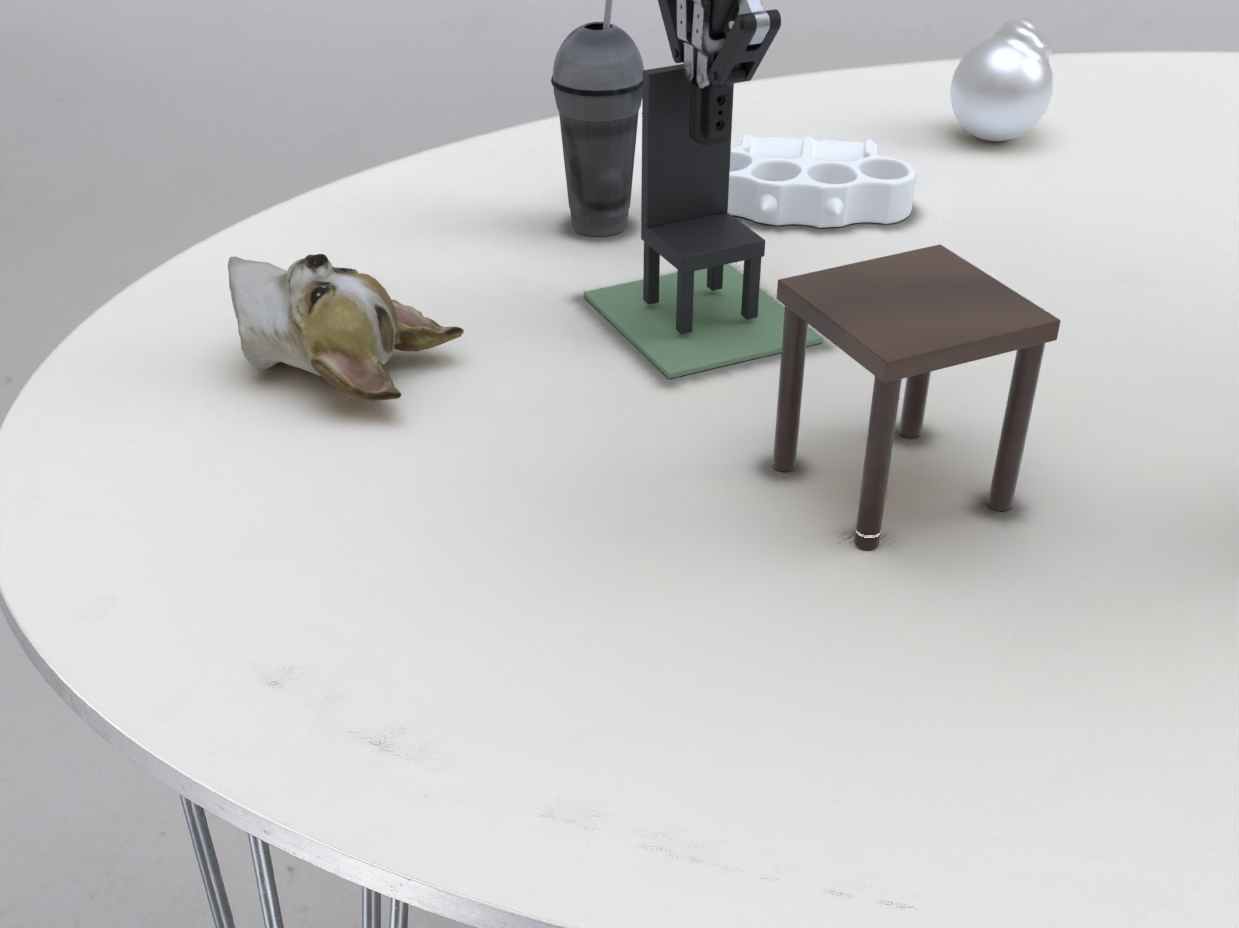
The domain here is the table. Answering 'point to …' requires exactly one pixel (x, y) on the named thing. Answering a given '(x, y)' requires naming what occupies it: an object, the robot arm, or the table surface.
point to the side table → (910, 354)
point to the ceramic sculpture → (327, 323)
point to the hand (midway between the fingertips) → (708, 140)
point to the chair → (689, 201)
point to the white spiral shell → (1004, 83)
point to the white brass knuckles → (817, 182)
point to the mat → (695, 323)
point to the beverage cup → (598, 122)
